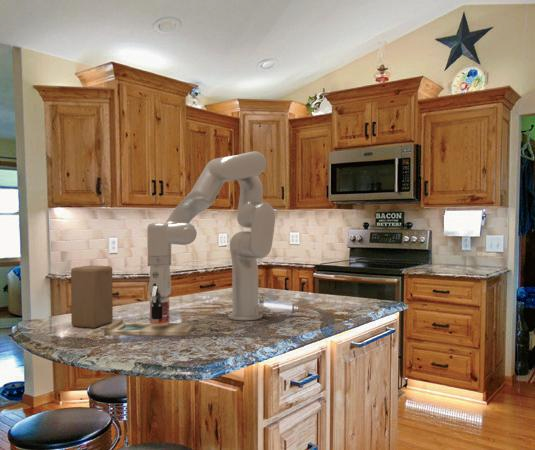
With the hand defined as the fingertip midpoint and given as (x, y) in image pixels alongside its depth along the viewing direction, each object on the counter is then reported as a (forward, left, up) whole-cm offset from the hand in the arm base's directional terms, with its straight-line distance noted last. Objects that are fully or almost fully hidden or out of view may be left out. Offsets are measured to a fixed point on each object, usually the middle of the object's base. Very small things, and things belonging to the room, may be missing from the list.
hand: (159, 316), depth 148 cm
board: (+3, 0, -5) cm, 6 cm away
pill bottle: (0, 0, -3) cm, 3 cm away
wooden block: (+26, -9, -5) cm, 28 cm away
